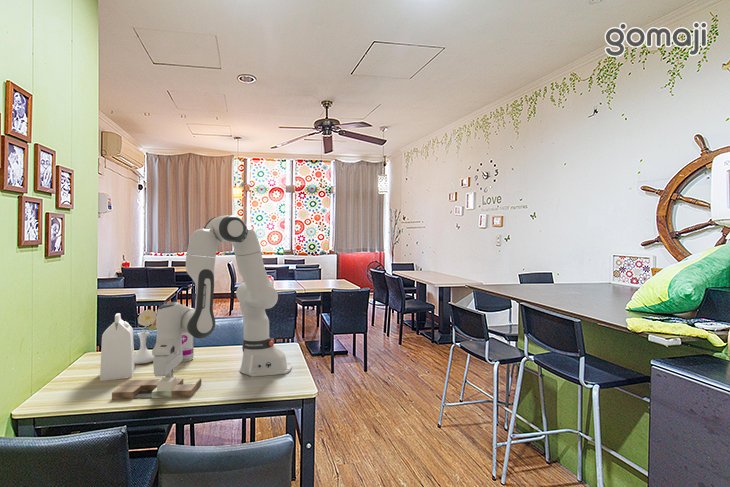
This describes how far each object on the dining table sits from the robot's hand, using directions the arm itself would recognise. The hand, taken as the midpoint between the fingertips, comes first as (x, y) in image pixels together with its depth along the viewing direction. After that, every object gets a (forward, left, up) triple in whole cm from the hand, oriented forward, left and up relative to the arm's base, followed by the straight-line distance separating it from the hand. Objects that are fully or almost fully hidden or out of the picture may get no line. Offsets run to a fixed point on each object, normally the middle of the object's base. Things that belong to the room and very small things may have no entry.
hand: (169, 380), depth 162 cm
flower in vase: (+25, -38, -4) cm, 45 cm away
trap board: (+4, +1, -4) cm, 5 cm away
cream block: (-1, +5, -2) cm, 5 cm away
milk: (+29, -21, -4) cm, 35 cm away
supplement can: (+8, -41, -4) cm, 42 cm away
